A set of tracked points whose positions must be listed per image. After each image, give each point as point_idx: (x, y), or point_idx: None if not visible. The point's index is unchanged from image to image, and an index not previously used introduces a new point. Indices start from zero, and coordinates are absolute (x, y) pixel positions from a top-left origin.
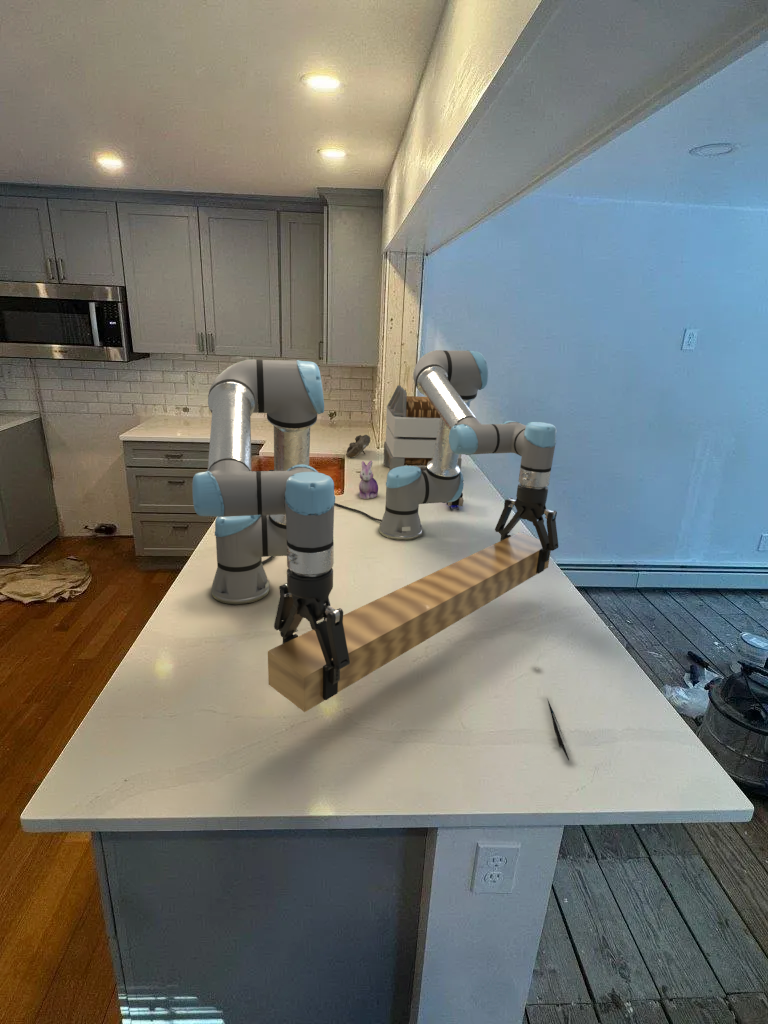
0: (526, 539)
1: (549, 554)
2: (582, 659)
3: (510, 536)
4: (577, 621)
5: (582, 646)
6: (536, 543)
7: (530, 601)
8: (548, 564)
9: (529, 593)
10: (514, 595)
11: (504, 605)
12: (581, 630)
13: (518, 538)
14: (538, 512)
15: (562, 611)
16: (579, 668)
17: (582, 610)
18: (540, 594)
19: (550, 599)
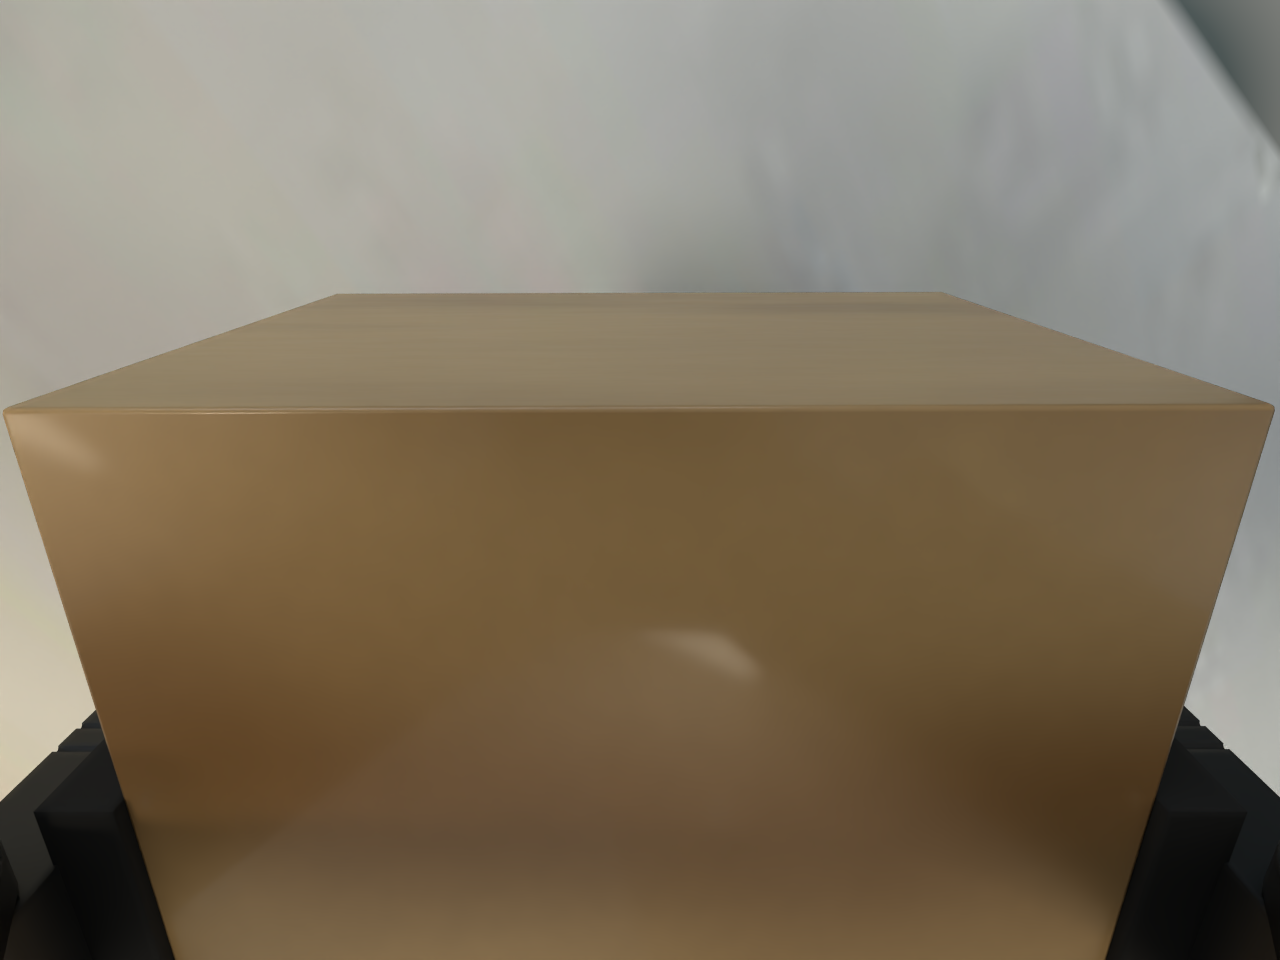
0: (535, 707)
1: (1247, 772)
2: (1275, 683)
3: (142, 841)
4: (1143, 259)
5: (1250, 560)
6: (881, 743)
7: (689, 246)
8: (964, 300)
9: (601, 100)
10: (530, 255)
11: None
12: (1203, 371)
13: (355, 798)
14: None
15: (984, 192)
16: (1274, 765)
17: (1138, 13)
18: (688, 26)
19: (809, 49)
